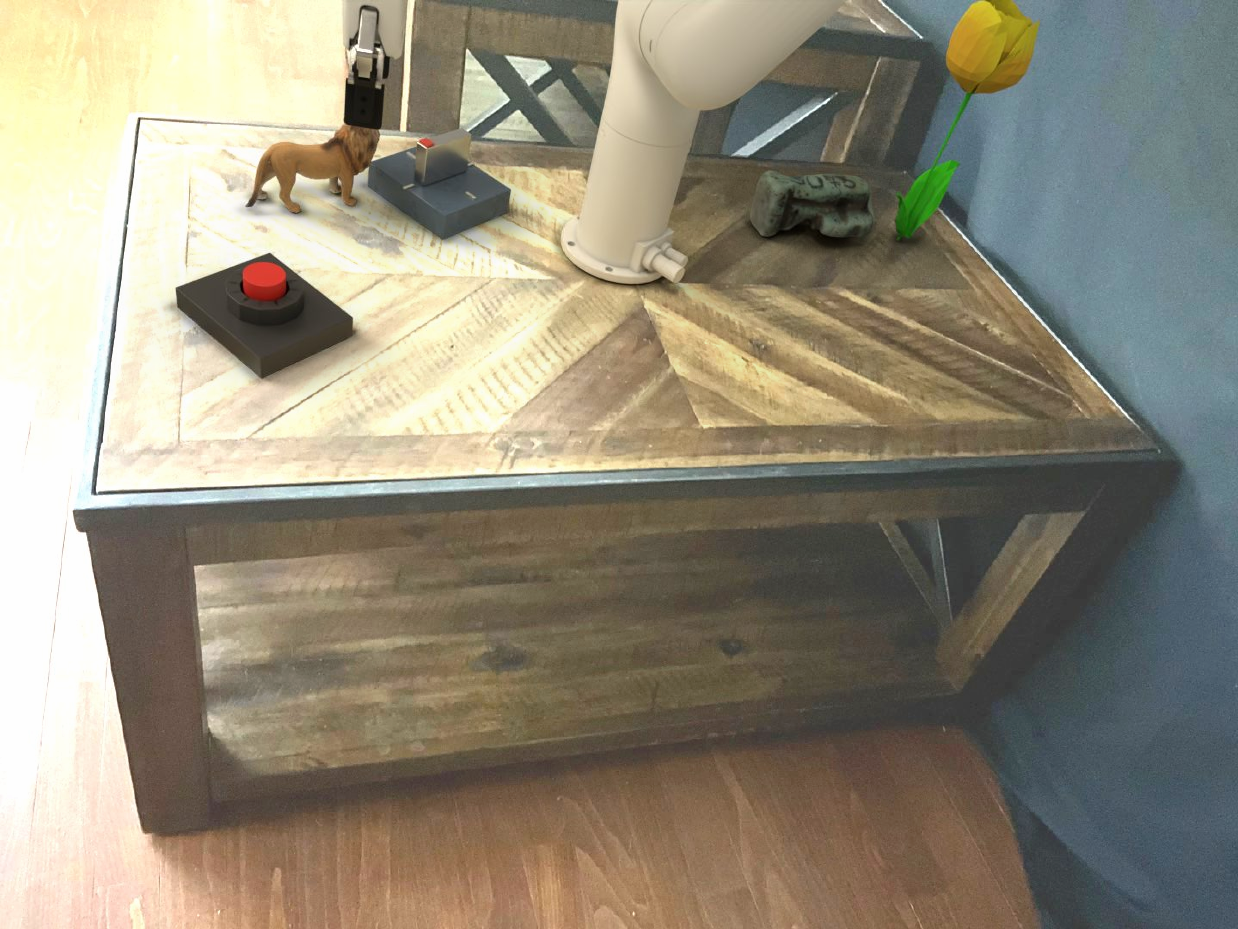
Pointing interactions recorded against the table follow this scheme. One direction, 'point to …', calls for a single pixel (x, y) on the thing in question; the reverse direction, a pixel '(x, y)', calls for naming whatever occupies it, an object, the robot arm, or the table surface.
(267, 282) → the red button
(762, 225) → the sculpture
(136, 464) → the table surface
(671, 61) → the robot arm
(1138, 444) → the table surface
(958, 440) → the table surface
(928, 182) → the flower
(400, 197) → the panel
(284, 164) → the lion figurine
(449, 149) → the tap handle
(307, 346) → the button box
